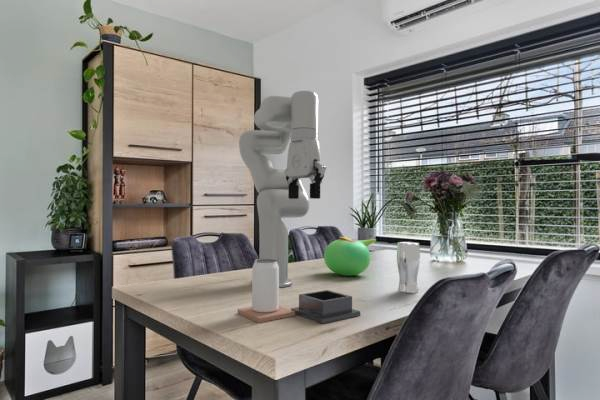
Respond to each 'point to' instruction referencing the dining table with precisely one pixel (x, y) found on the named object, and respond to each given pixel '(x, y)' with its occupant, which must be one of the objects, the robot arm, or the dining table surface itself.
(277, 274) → the can
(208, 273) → the dining table surface
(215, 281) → the dining table surface
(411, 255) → the beer glass
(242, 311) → the mat
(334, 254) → the green round teapot
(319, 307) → the sleeve
